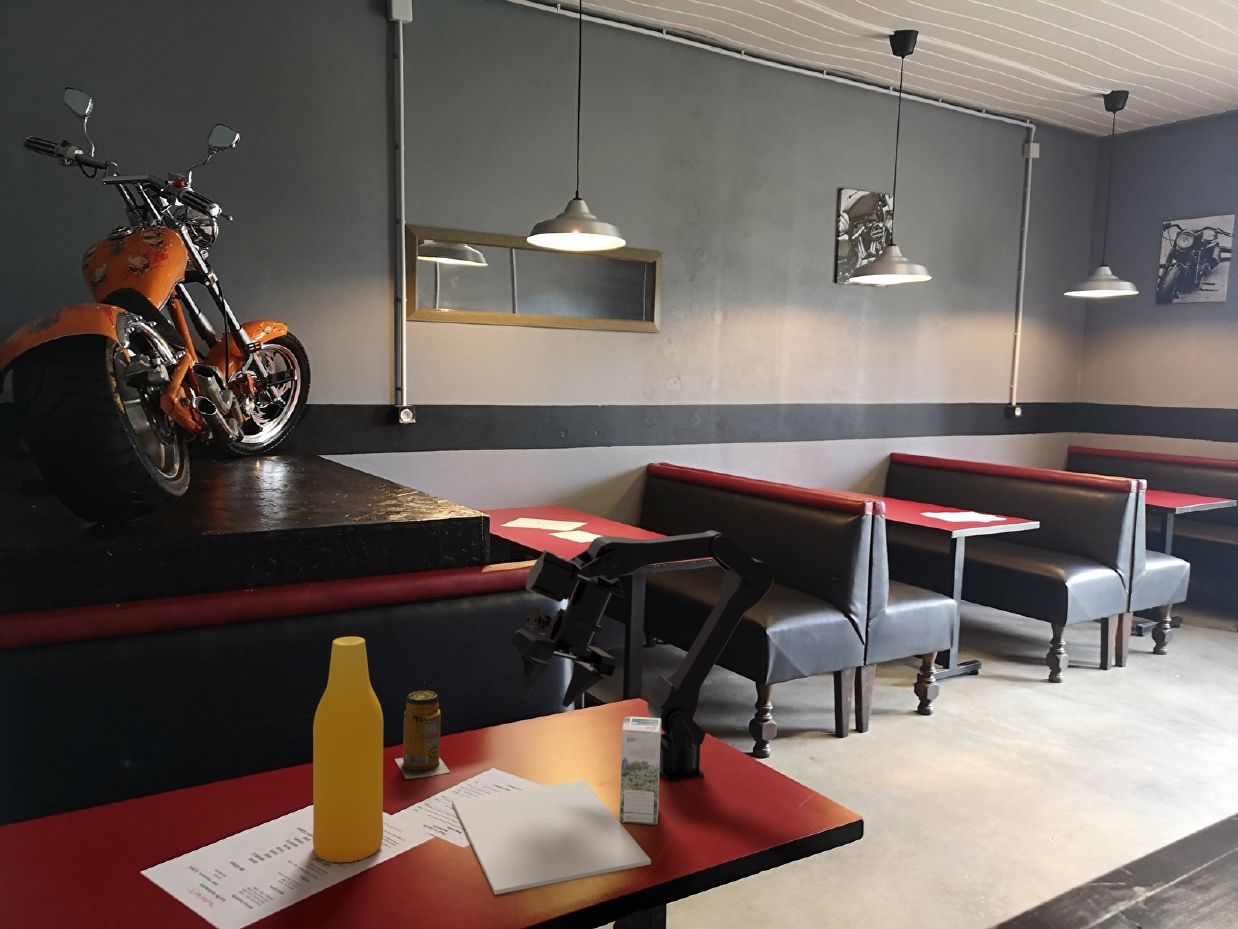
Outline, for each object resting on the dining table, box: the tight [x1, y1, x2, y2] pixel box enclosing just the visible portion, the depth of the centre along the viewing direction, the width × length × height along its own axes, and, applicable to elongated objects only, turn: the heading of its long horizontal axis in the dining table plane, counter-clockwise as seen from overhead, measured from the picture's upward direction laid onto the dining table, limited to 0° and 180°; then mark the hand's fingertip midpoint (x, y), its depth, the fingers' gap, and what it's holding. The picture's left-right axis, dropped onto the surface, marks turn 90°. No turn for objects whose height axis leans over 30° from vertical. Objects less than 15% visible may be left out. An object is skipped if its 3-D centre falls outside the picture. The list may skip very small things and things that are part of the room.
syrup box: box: [619, 715, 662, 826], centre depth 133 cm, size 6×6×14 cm
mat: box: [451, 779, 652, 895], centre depth 128 cm, size 22×26×1 cm
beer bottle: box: [312, 636, 384, 863], centre depth 121 cm, size 9×9×29 cm
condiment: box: [394, 690, 451, 779], centre depth 148 cm, size 7×8×12 cm
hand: (544, 702), depth 141 cm, fingers open, 9 cm apart
